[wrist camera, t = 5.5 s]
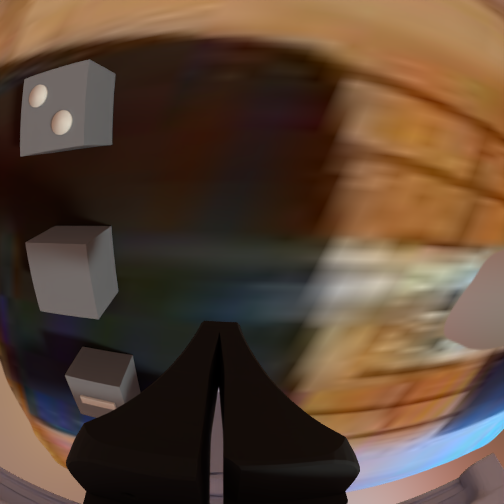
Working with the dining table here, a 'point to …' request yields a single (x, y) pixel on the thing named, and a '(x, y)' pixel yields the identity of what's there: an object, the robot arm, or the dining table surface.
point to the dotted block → (67, 109)
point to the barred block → (102, 380)
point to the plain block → (73, 270)
